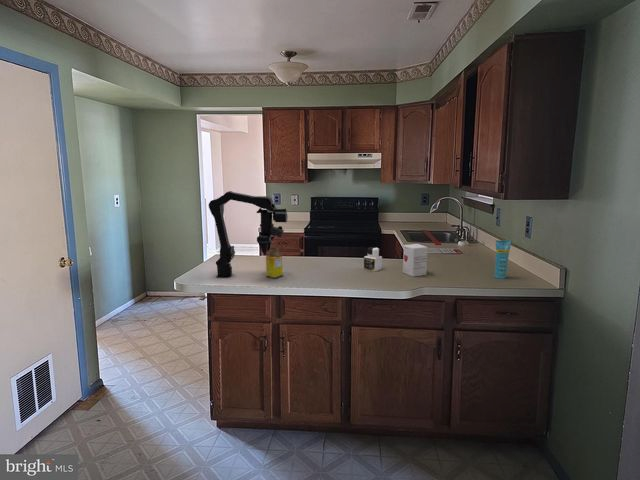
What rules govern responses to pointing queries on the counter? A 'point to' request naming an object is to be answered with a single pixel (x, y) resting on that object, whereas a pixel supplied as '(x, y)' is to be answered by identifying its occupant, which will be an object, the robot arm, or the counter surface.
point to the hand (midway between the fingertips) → (266, 252)
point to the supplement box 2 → (415, 259)
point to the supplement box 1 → (274, 266)
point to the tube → (502, 258)
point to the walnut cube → (274, 251)
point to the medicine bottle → (373, 260)
